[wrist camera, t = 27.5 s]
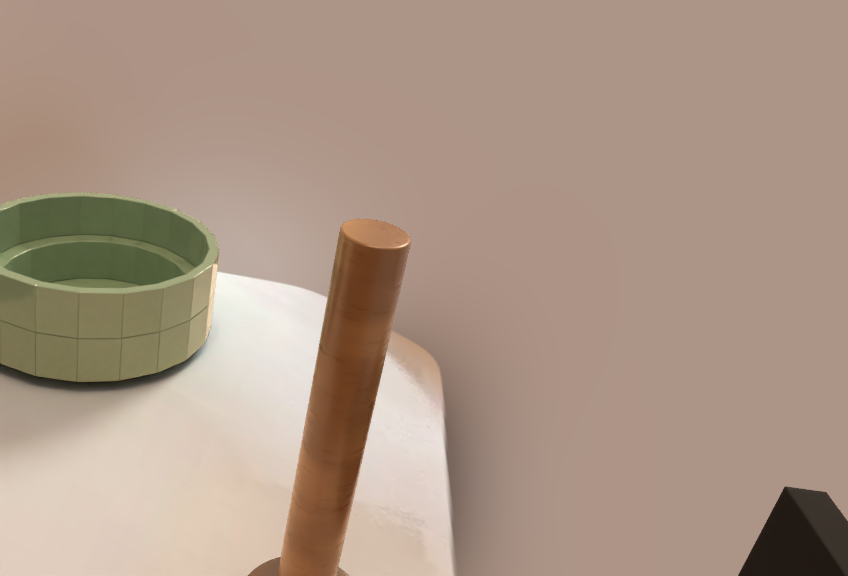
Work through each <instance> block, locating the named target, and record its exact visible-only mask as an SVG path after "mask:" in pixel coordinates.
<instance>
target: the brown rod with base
mask: <svg viewBox="0 0 848 576" xmlns="http://www.w3.org/2000/svg"><path fill="white" fill-rule="evenodd" d="M410 245H411V239H410V237H409V235H408V234H407V233H406V232H405V231H403V230H401V229H400V228H398V227H396V226H394V225H391V224H389V223H386V222H382V221H377V220H371V219H354V220H349V221H347V222H345V223H343V225H342V226H341V228H340V232H339V238H338V243H337V249H336V254H335V260H334V266H333V271H332V276H331V282H330V288H329V293H328V299H327V304H326V310H325V315H324V321H323V326H322V332H321V337H320V343H319V349H318V354H317V360H316V365H315V371H314V376H313V382H312V387H311V393H310V398H309V404H308V410H307V415H306V421H305V426H304V432H303V437H302V443H301V448H300V454H299V460H298V465H297V471H296V476H295V482H294V487H293V493H292V498H291V504H290V509H289V515H288V521H287V526H286V532H285V537H284V543H283V548H282V554H281V557H279V558H275V559H272V560H270V561H267V562H265V563H263V564H262V565H260V566H258V567H257V568H256V569H254V570H253V571H252V572H251V573H250V574H249V575H248V576H349V575H348V574H347V573H345V572H344V571H343V570H342V569H340V568H339V567H338V565H339V561H340V556H341V552H342V547H343V543H344V538H345V534H346V530H347V525H348V521H349V516H350V512H351V507H352V503H353V498H354V494H355V489H356V485H357V481H358V476H359V472H360V467H361V463H362V458H363V454H364V449H365V445H366V440H367V436H368V432H369V427H370V423H371V418H372V414H373V409H374V405H375V400H376V396H377V392H378V387H379V383H380V378H381V374H382V369H383V365H384V360H385V356H386V351H387V347H388V343H389V338H390V334H391V329H392V325H393V320H394V316H395V311H396V306H397V302H398V298H399V293H400V289H401V285H402V280H403V276H404V271H405V266H406V262H407V258H408V253H409V249H410Z"/></svg>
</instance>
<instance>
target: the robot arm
mask: <svg viewBox="0 0 848 576" xmlns="http://www.w3.org/2000/svg"><path fill="white" fill-rule="evenodd" d="M738 576H848V521H847V520H846V518H845V517H844V516H843V514H842V513H841V512H840V510H839V509H838V508H837V506H836V505H835V504H834V502H833V501H832V499H831V498H830V497H829V495H828V494H827V493H826V492H821V491H813V490H806V489H799V488H792V487H784V489H783V491H782V493H781V495H780V497H779V499H778V501H777V503H776V504H775V507H774V508H773V510H772V512H771V514H770V516H769V518H768V520H767V522H766V524H765V525H764V527H763V529H762V531H761V533H760V535H759V537H758V539H757V541H756V543H755V545H754V546H753V548H752V550H751V552H750V554H749V556H748V558H747V560H746V562H745V564H744V565H743V567H742V569H741V571H740V573H739V575H738Z"/></svg>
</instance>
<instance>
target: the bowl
mask: <svg viewBox="0 0 848 576" xmlns="http://www.w3.org/2000/svg"><path fill="white" fill-rule="evenodd" d="M218 258H219V248H218V245H217V242H216V239H215V236H214V234H213V233H211V231H210V230H208V229H207V228H206V227H205V226H204V225H203V224H202V223H201V222H199V221H198V220H196V219H194V218H192V217H190V216H188V215H186V214H184V213H183V212H181V211H179V210H176V209H174V208H170V207H167V206H164V205H161V204H158V203H154V202H151V201H147V200H142V199H137V198H131V197H125V196H120V195H113V194H97V193H58V194H45V195H44V194H43V195H38V196H32V197H26V198H21V199H16V200H11V201H9V202H6V203H3V204H1V205H0V363H1V364H3V365H6V366H8V367H11V368H14V369H17V370H20V371H22V372H25V373H28V374H31V375H34V376H39V377H46V378H53V379H60V380H67V381H74V382H76V381H77V382H98V381H119V380H125V379H130V378H135V377H140V376H144V375H149V374H154V373H158V372H161V371H163V370H165V369H167V368H170V367H172V366H174V365H177V364H179V363H181V362H183V361H185V360H187V359H188V358H189V357H190V356H191V355H192V354H194V353H195V352H196V351H197V350H198V349H199V348H200V347H202V346H203V345H204V344H205V341H206V339H207V336H208V333H209V331H210V328H211V322H212V313H213V304H214V294H215V285H216V276H217V266H218Z"/></svg>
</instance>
